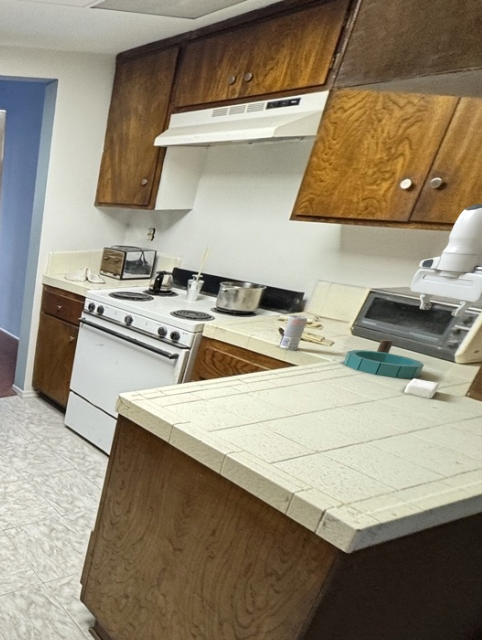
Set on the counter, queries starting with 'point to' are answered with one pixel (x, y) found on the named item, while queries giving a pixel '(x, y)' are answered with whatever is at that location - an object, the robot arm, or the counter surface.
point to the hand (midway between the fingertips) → (439, 312)
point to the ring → (383, 364)
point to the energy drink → (293, 332)
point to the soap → (422, 388)
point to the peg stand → (385, 345)
